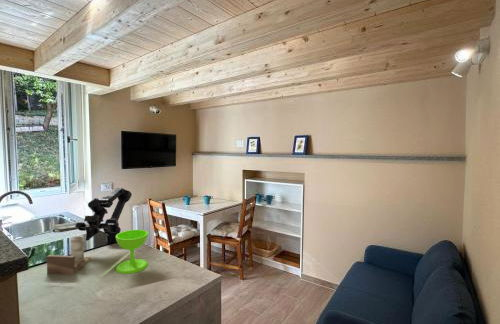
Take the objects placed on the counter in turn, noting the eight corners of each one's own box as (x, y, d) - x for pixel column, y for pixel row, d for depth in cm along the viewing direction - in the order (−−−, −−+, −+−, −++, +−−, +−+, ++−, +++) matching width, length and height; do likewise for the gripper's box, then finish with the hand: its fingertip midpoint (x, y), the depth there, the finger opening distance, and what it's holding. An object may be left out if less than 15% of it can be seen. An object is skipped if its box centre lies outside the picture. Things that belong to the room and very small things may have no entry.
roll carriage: (75, 258, 146) (74, 234, 145) (90, 259, 146) (90, 234, 145) (63, 266, 137) (62, 239, 136) (79, 266, 137) (79, 240, 136)
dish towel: (78, 223, 215) (78, 219, 215) (83, 228, 203) (83, 224, 202) (50, 227, 202) (50, 223, 202) (53, 233, 190) (53, 229, 189)
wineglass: (150, 269, 139) (150, 236, 138) (117, 276, 130) (117, 241, 129) (144, 258, 152) (145, 228, 151) (114, 263, 144) (114, 232, 143)
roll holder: (72, 259, 147) (72, 242, 147) (96, 260, 147) (96, 243, 146) (45, 276, 128) (45, 256, 128) (73, 277, 128) (72, 257, 128)
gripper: (77, 209, 153) (63, 233, 143) (108, 210, 153) (96, 234, 142) (85, 218, 162) (73, 242, 151) (115, 219, 161) (105, 243, 151)
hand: (86, 240), depth 149 cm, fingers closed
